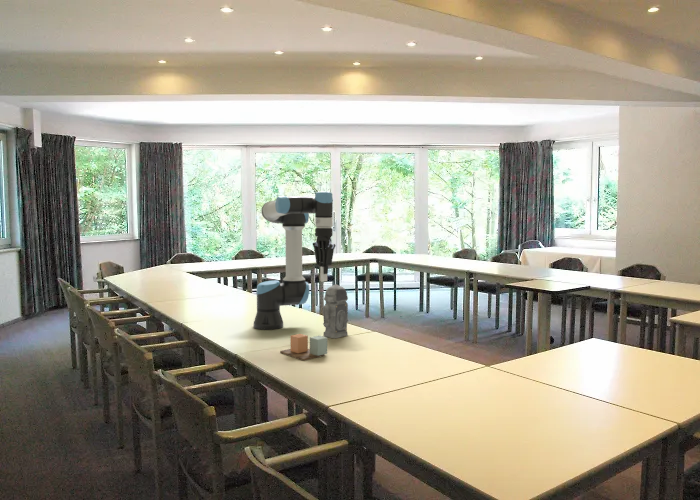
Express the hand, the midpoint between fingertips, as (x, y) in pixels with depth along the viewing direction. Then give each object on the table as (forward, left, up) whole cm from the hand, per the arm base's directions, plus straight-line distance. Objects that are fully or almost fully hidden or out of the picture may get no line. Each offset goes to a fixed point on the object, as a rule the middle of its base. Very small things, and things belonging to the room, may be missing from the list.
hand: (323, 281), depth 244 cm
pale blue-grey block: (+9, -10, -29) cm, 32 cm away
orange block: (+1, -15, -28) cm, 32 cm away
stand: (+3, -14, -29) cm, 33 cm away
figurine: (-13, +18, -30) cm, 37 cm away
